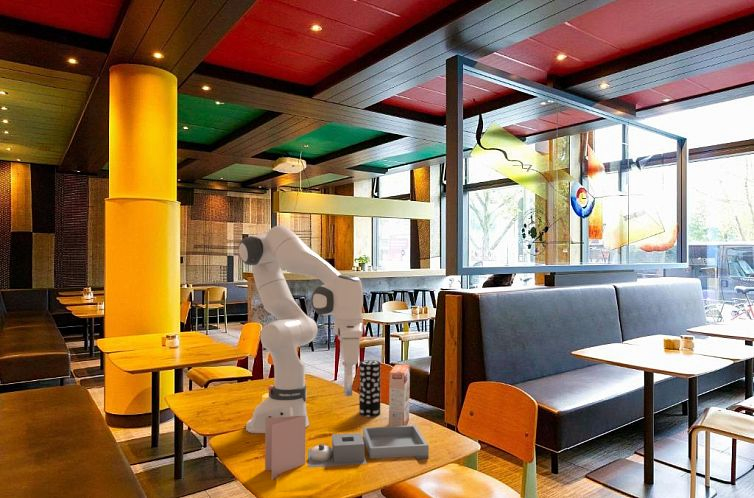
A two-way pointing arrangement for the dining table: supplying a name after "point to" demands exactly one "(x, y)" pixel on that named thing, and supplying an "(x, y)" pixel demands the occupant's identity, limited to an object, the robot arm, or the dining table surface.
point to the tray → (395, 442)
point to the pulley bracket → (338, 451)
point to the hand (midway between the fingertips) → (348, 373)
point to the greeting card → (284, 443)
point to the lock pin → (347, 382)
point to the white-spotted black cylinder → (369, 388)
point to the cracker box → (399, 395)
